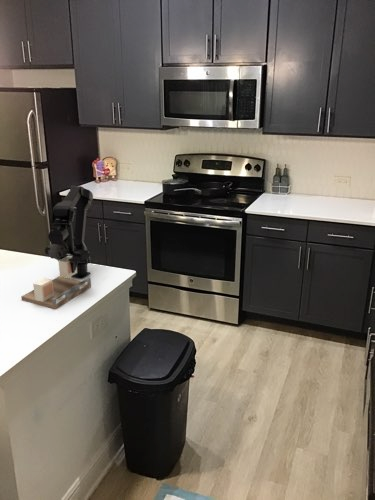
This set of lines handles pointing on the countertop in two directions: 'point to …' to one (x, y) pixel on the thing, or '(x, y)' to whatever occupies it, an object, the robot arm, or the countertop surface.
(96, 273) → the countertop surface
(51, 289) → the faced carton
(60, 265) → the askew carton
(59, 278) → the brown tray
